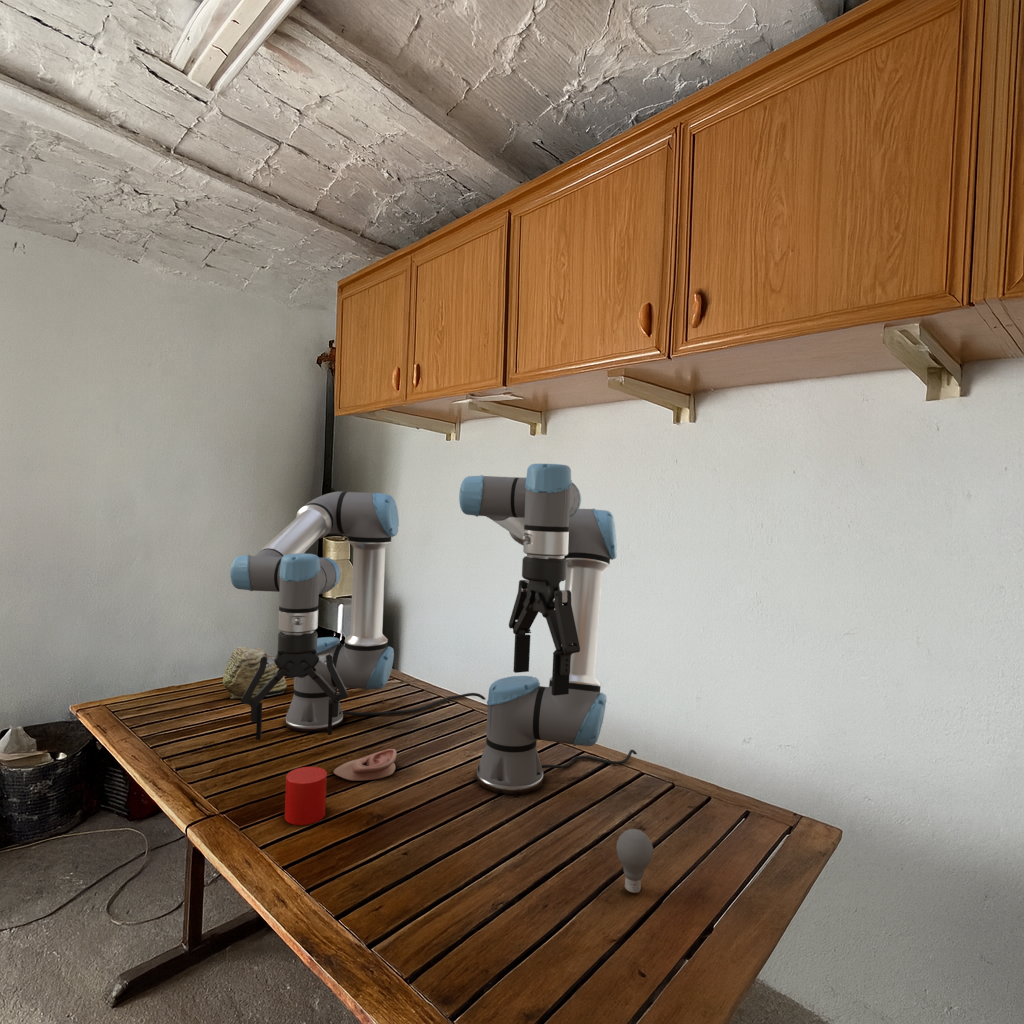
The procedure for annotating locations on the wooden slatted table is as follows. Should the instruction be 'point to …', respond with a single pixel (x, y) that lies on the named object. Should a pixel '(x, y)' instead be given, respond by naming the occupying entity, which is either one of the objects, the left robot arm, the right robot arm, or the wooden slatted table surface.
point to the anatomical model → (369, 766)
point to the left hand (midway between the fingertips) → (294, 735)
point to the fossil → (249, 673)
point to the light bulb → (634, 857)
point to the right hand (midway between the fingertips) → (539, 682)
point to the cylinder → (305, 795)
